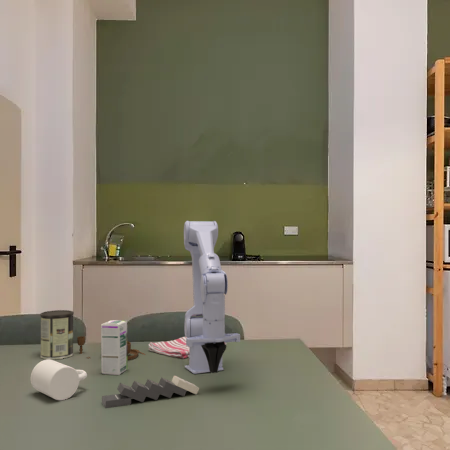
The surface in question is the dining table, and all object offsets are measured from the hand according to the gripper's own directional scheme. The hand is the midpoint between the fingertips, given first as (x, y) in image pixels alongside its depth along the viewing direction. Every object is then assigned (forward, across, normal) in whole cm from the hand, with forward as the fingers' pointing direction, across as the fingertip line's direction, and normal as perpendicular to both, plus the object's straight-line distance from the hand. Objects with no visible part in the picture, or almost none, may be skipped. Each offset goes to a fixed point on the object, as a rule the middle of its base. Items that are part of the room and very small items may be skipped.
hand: (213, 371), depth 127 cm
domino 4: (+4, -12, 0) cm, 13 cm away
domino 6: (+4, -5, 0) cm, 6 cm away
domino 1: (+4, -22, 0) cm, 23 cm away
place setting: (+5, -16, +46) cm, 49 cm away
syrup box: (+5, -20, +26) cm, 33 cm away
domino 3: (+4, -16, 0) cm, 16 cm away
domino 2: (+4, -19, 0) cm, 19 cm away
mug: (+5, -36, +13) cm, 38 cm away
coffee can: (+5, -33, +52) cm, 62 cm away
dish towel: (+5, +10, +43) cm, 44 cm away
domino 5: (+4, -8, 0) cm, 9 cm away
